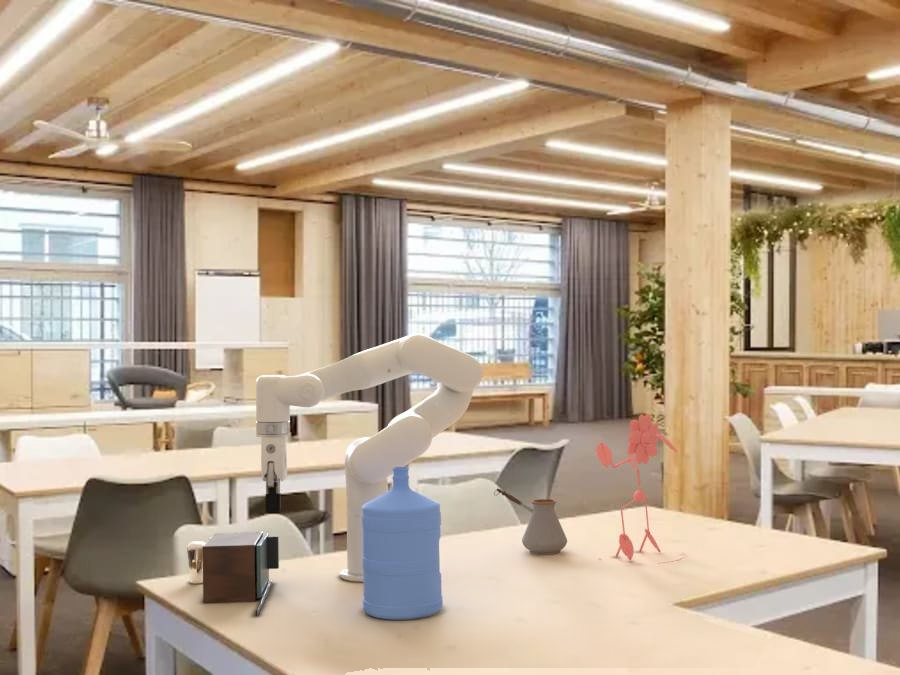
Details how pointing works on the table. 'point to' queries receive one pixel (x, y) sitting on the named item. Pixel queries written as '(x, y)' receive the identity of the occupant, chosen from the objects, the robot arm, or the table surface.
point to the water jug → (401, 553)
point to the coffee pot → (541, 527)
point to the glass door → (266, 560)
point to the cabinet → (231, 568)
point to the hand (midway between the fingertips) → (273, 511)
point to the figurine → (642, 446)
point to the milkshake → (195, 561)
